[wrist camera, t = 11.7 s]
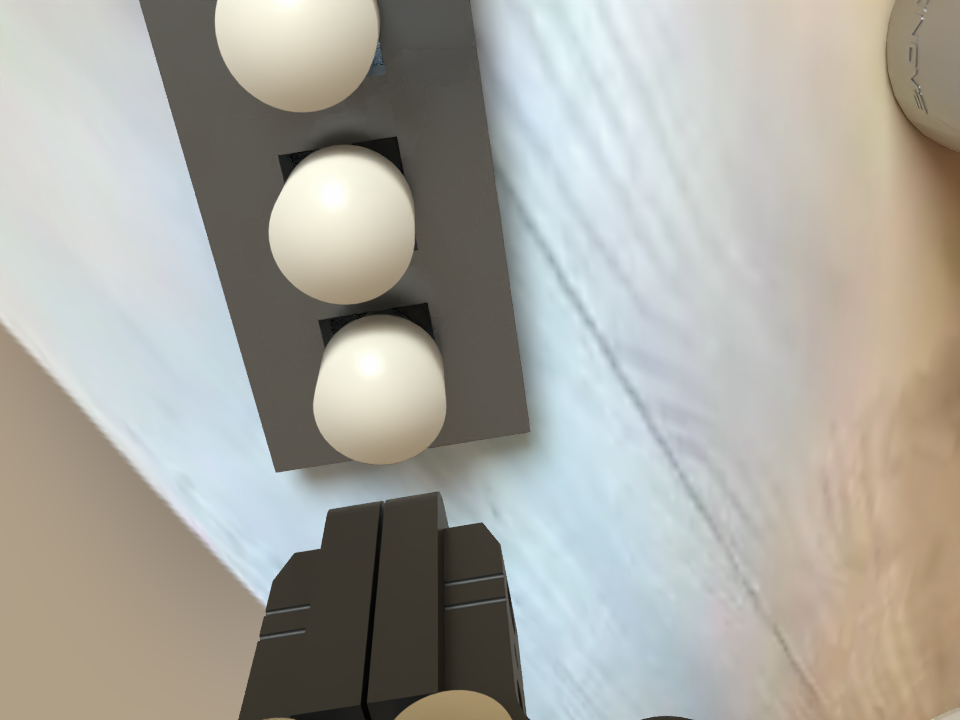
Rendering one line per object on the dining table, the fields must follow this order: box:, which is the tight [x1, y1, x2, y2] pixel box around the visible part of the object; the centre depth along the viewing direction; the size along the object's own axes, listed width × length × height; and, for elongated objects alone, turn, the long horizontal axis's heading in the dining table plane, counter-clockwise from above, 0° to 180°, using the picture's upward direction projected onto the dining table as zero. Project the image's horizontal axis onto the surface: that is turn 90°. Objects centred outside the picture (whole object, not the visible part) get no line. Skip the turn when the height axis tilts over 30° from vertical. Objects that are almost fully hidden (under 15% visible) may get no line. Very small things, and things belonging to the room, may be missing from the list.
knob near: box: [215, 0, 380, 112], centre depth 28 cm, size 4×4×6 cm
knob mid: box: [269, 145, 415, 305], centre depth 30 cm, size 4×4×6 cm
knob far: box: [313, 309, 446, 465], centre depth 33 cm, size 4×4×6 cm
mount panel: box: [139, 0, 530, 472], centre depth 32 cm, size 10×20×2 cm, turn 8°
